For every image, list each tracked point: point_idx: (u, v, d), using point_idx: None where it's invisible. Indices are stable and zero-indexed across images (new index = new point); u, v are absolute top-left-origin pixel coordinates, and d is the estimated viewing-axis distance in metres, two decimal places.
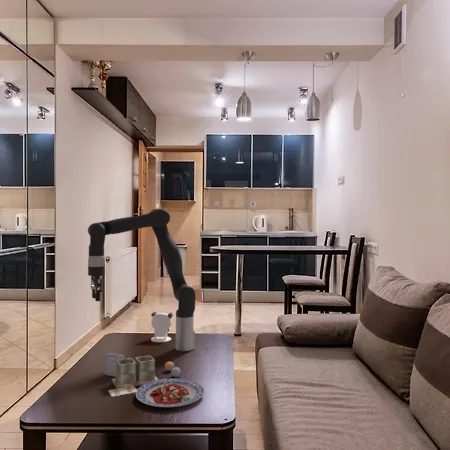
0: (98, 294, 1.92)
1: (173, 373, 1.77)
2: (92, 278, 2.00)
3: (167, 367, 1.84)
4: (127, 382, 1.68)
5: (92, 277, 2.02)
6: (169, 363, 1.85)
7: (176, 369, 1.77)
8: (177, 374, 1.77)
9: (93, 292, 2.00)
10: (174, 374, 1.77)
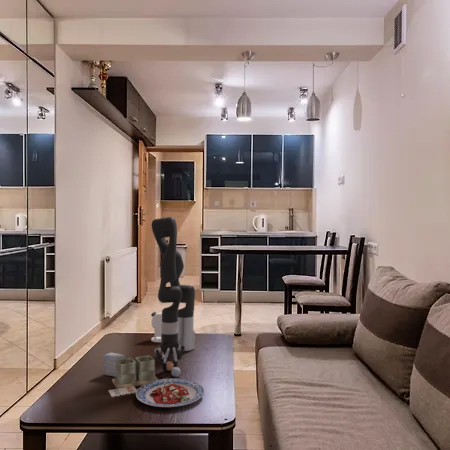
0: None
1: (173, 373, 1.77)
2: (162, 348, 1.83)
3: (167, 367, 1.84)
4: (127, 382, 1.68)
5: (158, 350, 1.82)
6: (169, 363, 1.85)
7: (176, 369, 1.77)
8: (177, 374, 1.77)
9: None
10: (174, 374, 1.77)
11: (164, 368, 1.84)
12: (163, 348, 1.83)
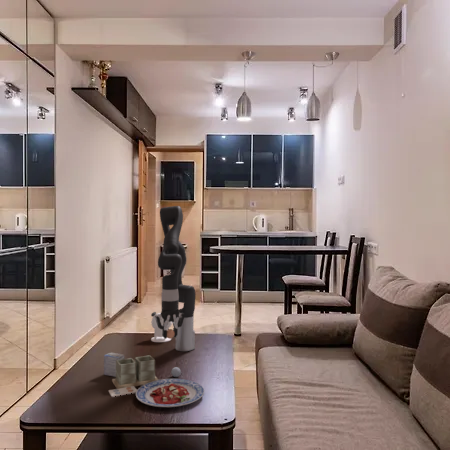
0: None
1: (173, 373, 1.77)
2: (162, 315, 1.83)
3: (168, 334, 1.84)
4: (127, 382, 1.68)
5: (158, 317, 1.82)
6: (170, 330, 1.84)
7: (176, 369, 1.77)
8: (177, 374, 1.77)
9: None
10: (174, 374, 1.77)
11: None
12: (163, 315, 1.83)
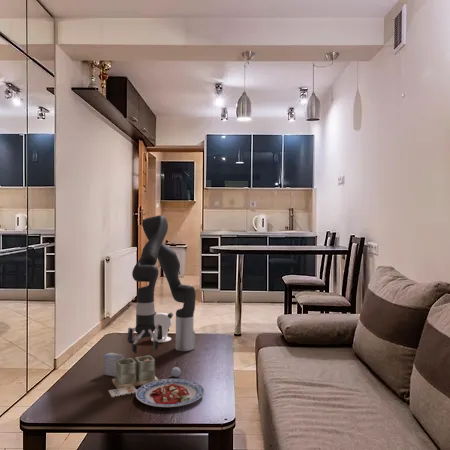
0: None
1: (173, 373, 1.77)
2: (137, 330, 1.72)
3: None
4: (127, 382, 1.68)
5: (132, 329, 1.71)
6: None
7: (176, 369, 1.77)
8: (177, 374, 1.77)
9: None
10: (174, 374, 1.77)
11: (134, 350, 1.72)
12: (138, 330, 1.72)
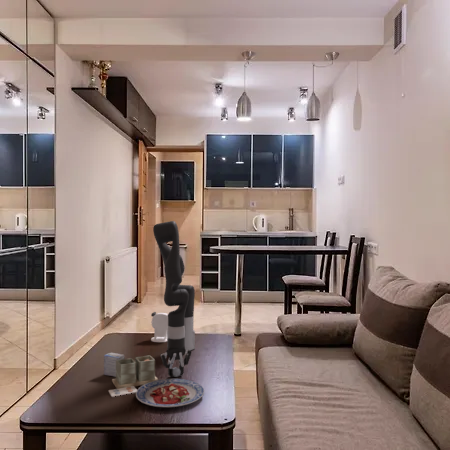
0: None
1: (173, 373, 1.77)
2: (168, 353, 1.76)
3: None
4: (127, 382, 1.68)
5: (164, 355, 1.75)
6: None
7: (176, 369, 1.77)
8: (177, 374, 1.77)
9: None
10: (174, 374, 1.77)
11: (170, 374, 1.77)
12: (169, 353, 1.76)
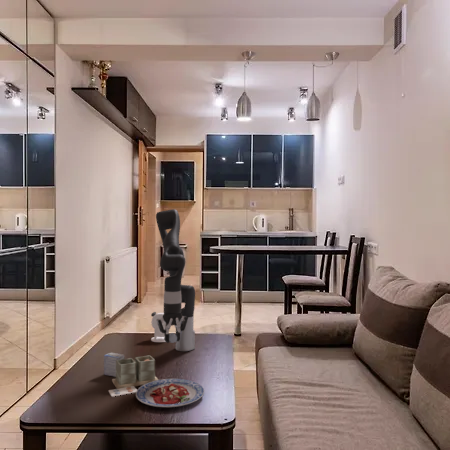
0: None
1: (170, 338, 1.76)
2: (165, 318, 1.75)
3: None
4: (127, 382, 1.68)
5: (160, 320, 1.74)
6: None
7: (173, 335, 1.76)
8: (174, 340, 1.76)
9: None
10: (171, 339, 1.76)
11: None
12: (166, 318, 1.75)
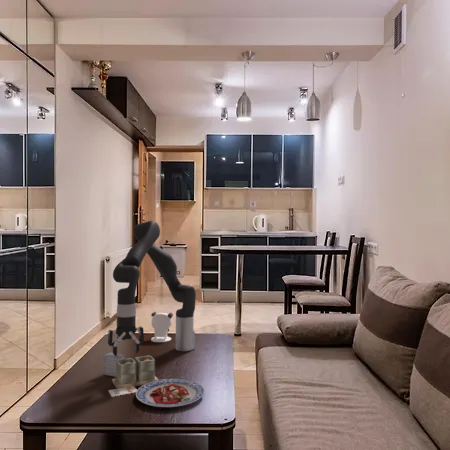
0: None
1: None
2: (117, 332, 1.68)
3: None
4: (127, 382, 1.68)
5: (112, 331, 1.67)
6: None
7: None
8: None
9: None
10: None
11: None
12: (118, 332, 1.68)
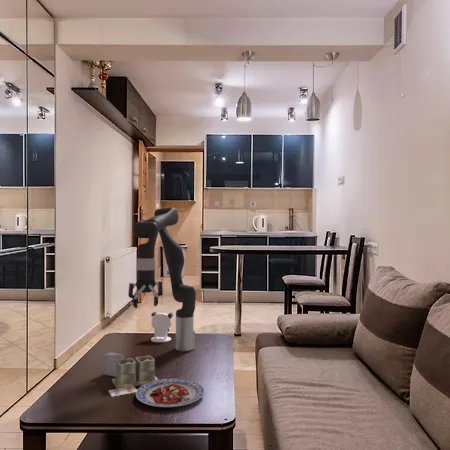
0: None
1: None
2: (137, 285, 1.75)
3: None
4: (127, 382, 1.68)
5: (133, 284, 1.74)
6: None
7: None
8: None
9: None
10: None
11: (135, 304, 1.75)
12: (138, 285, 1.75)
